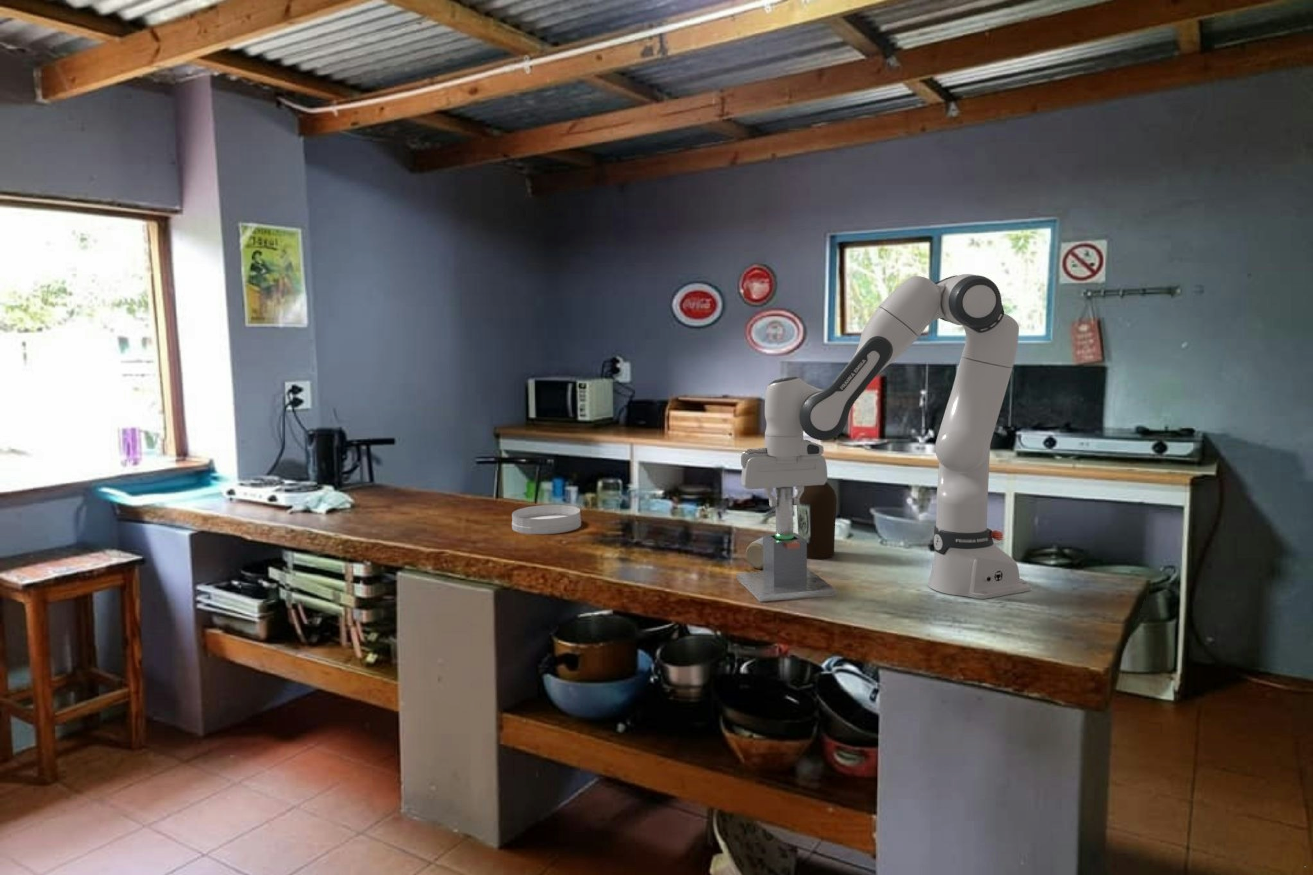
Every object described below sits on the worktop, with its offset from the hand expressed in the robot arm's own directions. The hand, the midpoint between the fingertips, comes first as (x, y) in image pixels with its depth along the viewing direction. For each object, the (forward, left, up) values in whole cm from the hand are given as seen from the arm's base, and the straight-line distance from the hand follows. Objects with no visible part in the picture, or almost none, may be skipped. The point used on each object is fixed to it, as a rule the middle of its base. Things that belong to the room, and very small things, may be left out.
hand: (784, 505), depth 193 cm
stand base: (0, 0, -20) cm, 20 cm away
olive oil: (-18, -25, -20) cm, 37 cm away
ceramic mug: (-2, -17, -20) cm, 27 cm away
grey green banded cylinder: (0, 0, -14) cm, 14 cm away
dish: (+51, -81, -20) cm, 98 cm away
